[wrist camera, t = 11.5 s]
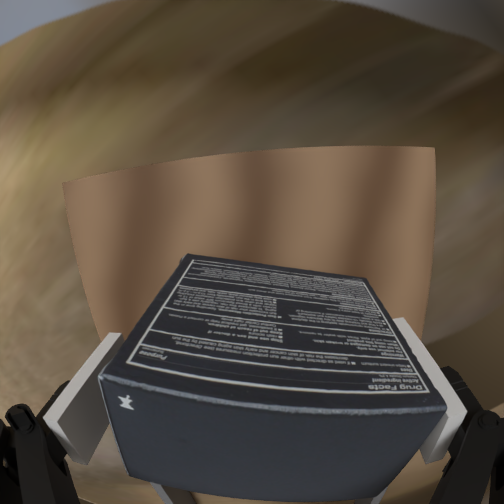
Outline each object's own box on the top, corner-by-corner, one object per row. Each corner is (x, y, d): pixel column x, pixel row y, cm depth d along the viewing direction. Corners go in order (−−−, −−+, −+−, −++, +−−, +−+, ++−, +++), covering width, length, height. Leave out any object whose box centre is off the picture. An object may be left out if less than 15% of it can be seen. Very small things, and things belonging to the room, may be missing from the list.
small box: (180, 346, 19) (121, 480, 9) (183, 249, 17) (86, 365, 7) (342, 366, 19) (377, 504, 9) (370, 275, 17) (457, 402, 7)
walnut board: (423, 147, 16) (434, 147, 14) (400, 386, 21) (406, 398, 20) (75, 180, 18) (62, 182, 16) (135, 399, 23) (129, 410, 21)
